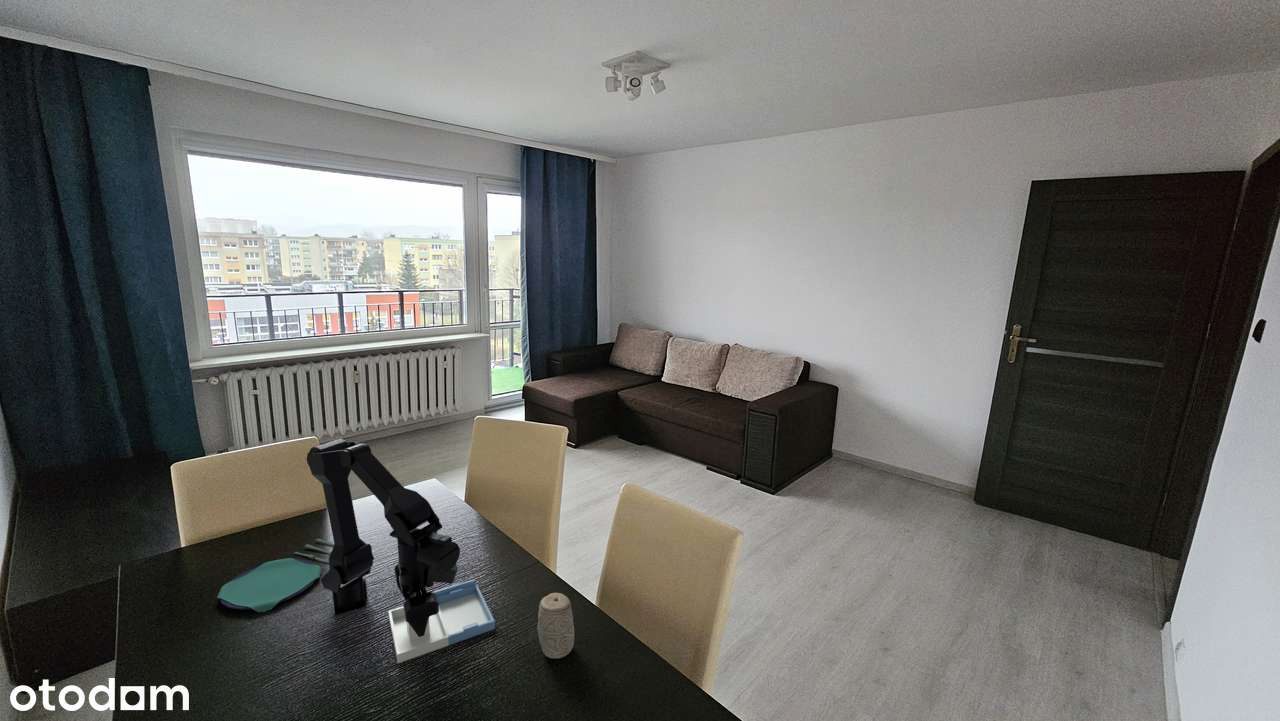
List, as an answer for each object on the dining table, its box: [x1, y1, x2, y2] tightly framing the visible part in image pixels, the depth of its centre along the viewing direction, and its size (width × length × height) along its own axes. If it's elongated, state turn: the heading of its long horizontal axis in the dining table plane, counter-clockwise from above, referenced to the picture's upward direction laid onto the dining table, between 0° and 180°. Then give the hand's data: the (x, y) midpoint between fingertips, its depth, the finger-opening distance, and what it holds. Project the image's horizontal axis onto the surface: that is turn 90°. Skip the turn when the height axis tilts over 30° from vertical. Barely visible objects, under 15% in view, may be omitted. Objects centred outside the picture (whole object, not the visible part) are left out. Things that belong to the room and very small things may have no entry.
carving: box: [537, 592, 575, 659], centre depth 105 cm, size 6×8×12 cm
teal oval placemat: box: [216, 538, 334, 613], centre depth 129 cm, size 20×30×2 cm, turn 163°
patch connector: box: [404, 593, 430, 640], centre depth 110 cm, size 4×4×9 cm
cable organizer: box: [387, 578, 496, 664], centre depth 113 cm, size 20×16×4 cm
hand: (417, 622), depth 110 cm, fingers open, 9 cm apart
